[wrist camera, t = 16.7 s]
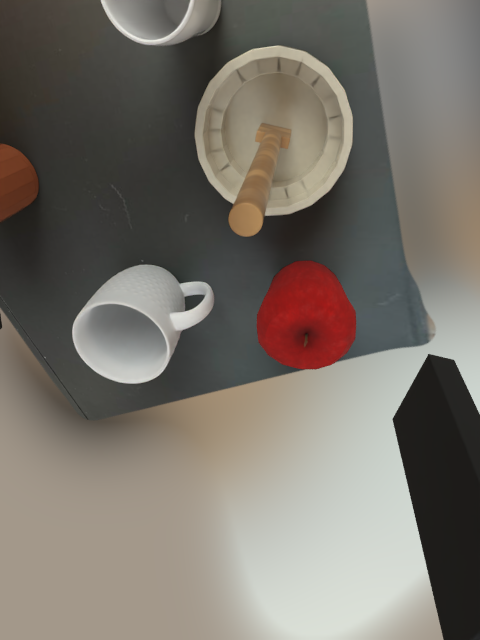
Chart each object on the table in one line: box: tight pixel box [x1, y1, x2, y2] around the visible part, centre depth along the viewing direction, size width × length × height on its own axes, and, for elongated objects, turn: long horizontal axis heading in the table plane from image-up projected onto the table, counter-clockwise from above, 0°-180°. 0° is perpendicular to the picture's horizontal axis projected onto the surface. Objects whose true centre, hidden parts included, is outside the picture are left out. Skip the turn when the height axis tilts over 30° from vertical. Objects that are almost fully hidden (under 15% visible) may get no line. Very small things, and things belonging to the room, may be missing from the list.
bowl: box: [195, 45, 353, 216], centre depth 43 cm, size 15×15×6 cm
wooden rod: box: [228, 123, 292, 237], centre depth 34 cm, size 3×2×27 cm, turn 79°
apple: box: [257, 261, 356, 369], centre depth 49 cm, size 11×10×14 cm
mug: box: [72, 264, 214, 384], centre depth 52 cm, size 15×11×13 cm
